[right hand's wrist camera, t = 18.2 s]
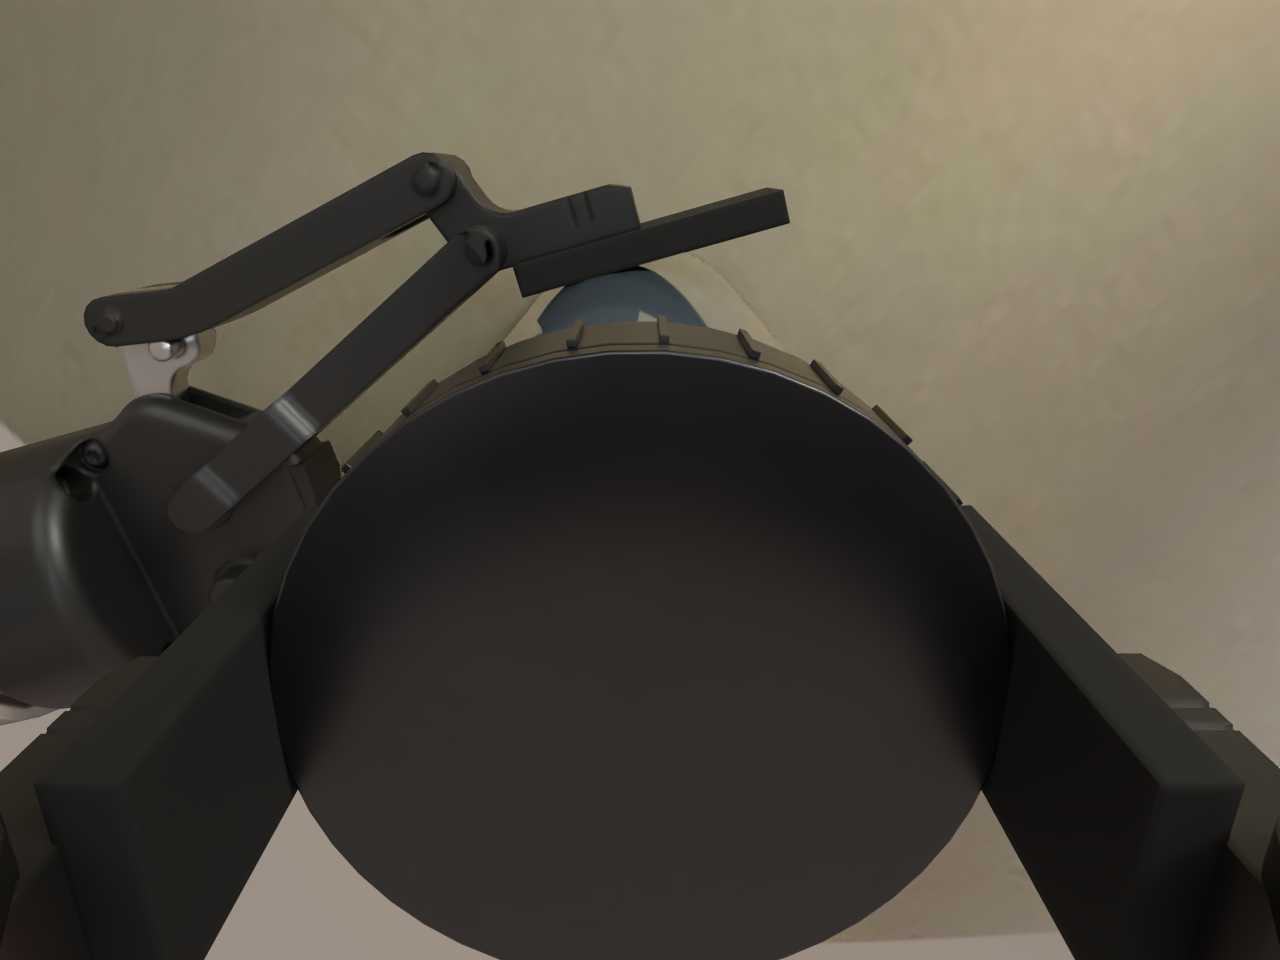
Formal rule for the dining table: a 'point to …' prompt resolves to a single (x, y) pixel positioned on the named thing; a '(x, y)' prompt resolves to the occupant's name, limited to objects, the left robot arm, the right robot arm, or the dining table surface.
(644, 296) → the jar
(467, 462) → the lid
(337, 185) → the dining table surface
